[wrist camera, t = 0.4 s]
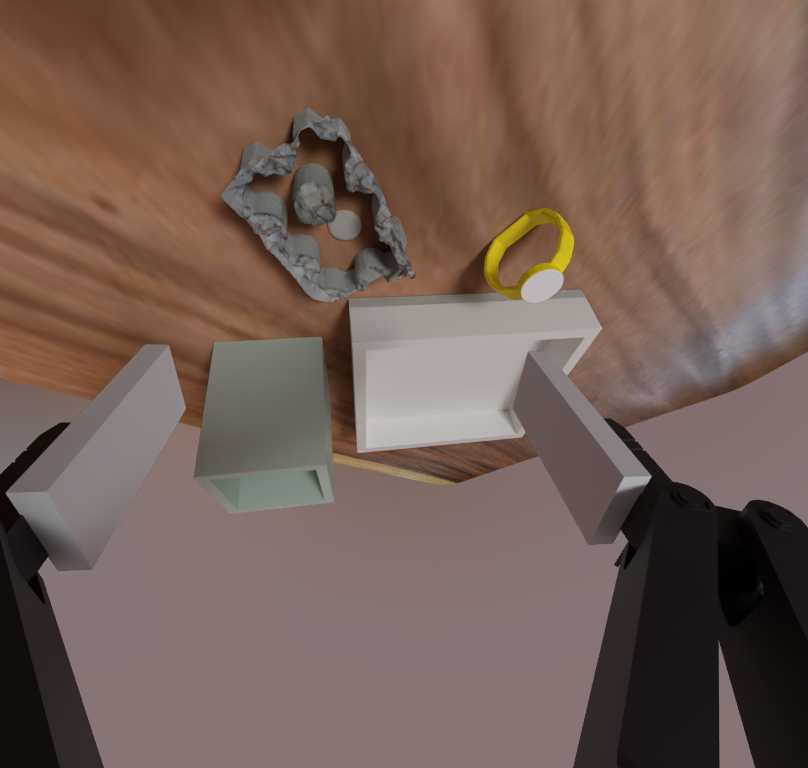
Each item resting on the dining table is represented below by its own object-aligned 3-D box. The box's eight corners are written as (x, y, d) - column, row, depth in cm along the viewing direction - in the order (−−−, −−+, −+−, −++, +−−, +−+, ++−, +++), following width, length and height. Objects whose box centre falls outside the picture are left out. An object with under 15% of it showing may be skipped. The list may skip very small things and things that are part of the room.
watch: (538, 186, 26) (577, 240, 23) (557, 210, 28) (597, 263, 24) (468, 250, 29) (494, 306, 26) (490, 268, 31) (517, 322, 28)
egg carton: (413, 242, 28) (423, 282, 26) (322, 281, 30) (324, 322, 28) (337, 82, 20) (342, 122, 18) (216, 151, 22) (207, 195, 20)
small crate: (214, 342, 34) (193, 477, 27) (321, 336, 35) (326, 464, 29) (241, 397, 41) (230, 513, 35) (329, 390, 43) (334, 502, 36)
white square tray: (348, 298, 32) (352, 342, 29) (581, 289, 34) (602, 328, 32) (354, 418, 48) (357, 452, 46) (511, 405, 51) (521, 437, 49)
